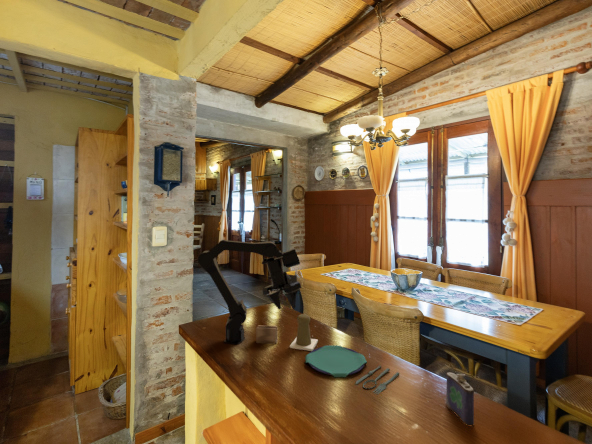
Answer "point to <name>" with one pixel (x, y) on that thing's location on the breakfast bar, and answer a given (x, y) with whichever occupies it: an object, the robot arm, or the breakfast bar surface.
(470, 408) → the flask
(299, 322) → the cork
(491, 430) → the breakfast bar surface
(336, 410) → the breakfast bar surface
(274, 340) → the napkin holder
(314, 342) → the plate
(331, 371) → the cutlery set
